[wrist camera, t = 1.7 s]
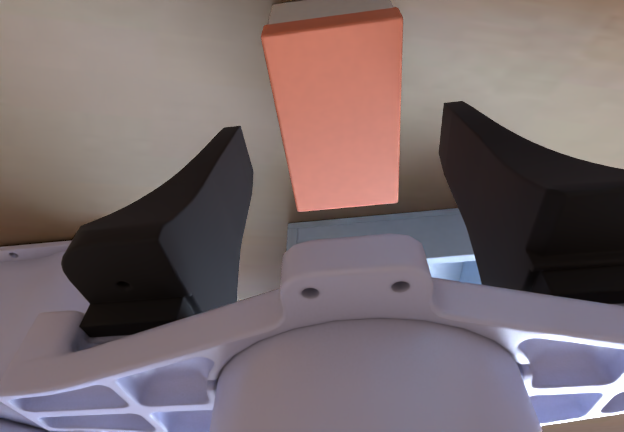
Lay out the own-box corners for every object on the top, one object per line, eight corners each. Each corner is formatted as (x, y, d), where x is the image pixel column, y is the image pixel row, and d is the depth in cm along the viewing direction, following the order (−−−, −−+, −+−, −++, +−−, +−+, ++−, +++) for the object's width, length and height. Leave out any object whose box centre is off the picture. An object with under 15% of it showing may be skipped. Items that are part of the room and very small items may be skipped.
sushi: (299, 157, 21) (297, 212, 18) (270, -5, 15) (259, 35, 12) (385, 148, 20) (398, 203, 17) (385, -21, 15) (403, 16, 12)
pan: (320, 359, 36) (320, 399, 33) (288, 222, 24) (284, 268, 21) (449, 352, 35) (459, 393, 32) (481, 205, 23) (502, 251, 20)
